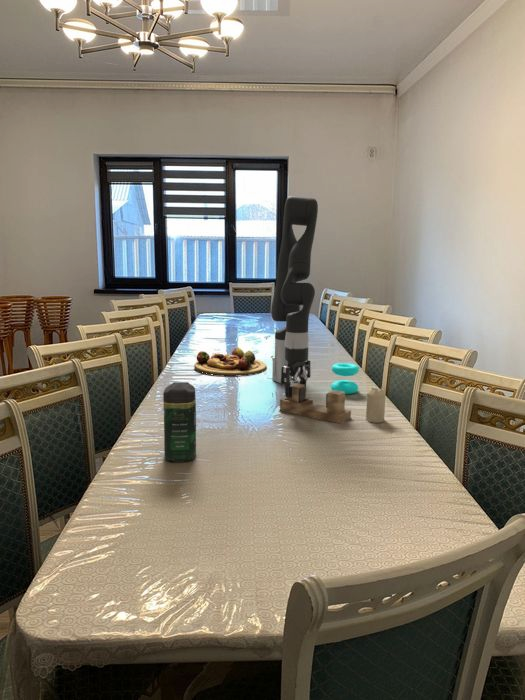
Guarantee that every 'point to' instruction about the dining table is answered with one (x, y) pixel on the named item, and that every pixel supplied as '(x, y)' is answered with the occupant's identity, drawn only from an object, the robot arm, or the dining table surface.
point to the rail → (320, 407)
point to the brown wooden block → (298, 393)
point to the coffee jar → (179, 421)
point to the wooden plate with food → (229, 363)
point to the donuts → (345, 370)
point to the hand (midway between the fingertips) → (295, 394)
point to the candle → (375, 405)
